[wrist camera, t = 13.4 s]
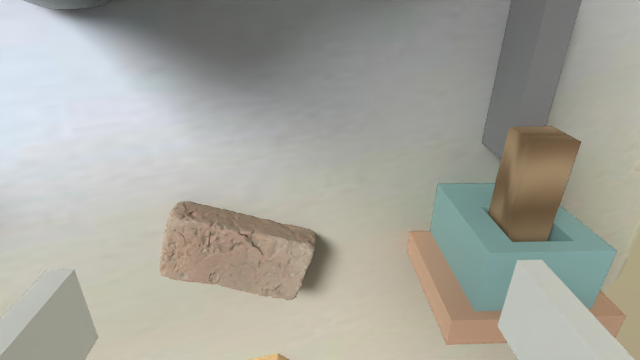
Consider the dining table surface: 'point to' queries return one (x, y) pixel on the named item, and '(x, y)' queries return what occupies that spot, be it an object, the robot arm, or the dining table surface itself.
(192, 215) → the brick
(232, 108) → the dining table surface
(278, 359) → the cutting board
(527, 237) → the bar
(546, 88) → the rail
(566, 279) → the block
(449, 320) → the base
